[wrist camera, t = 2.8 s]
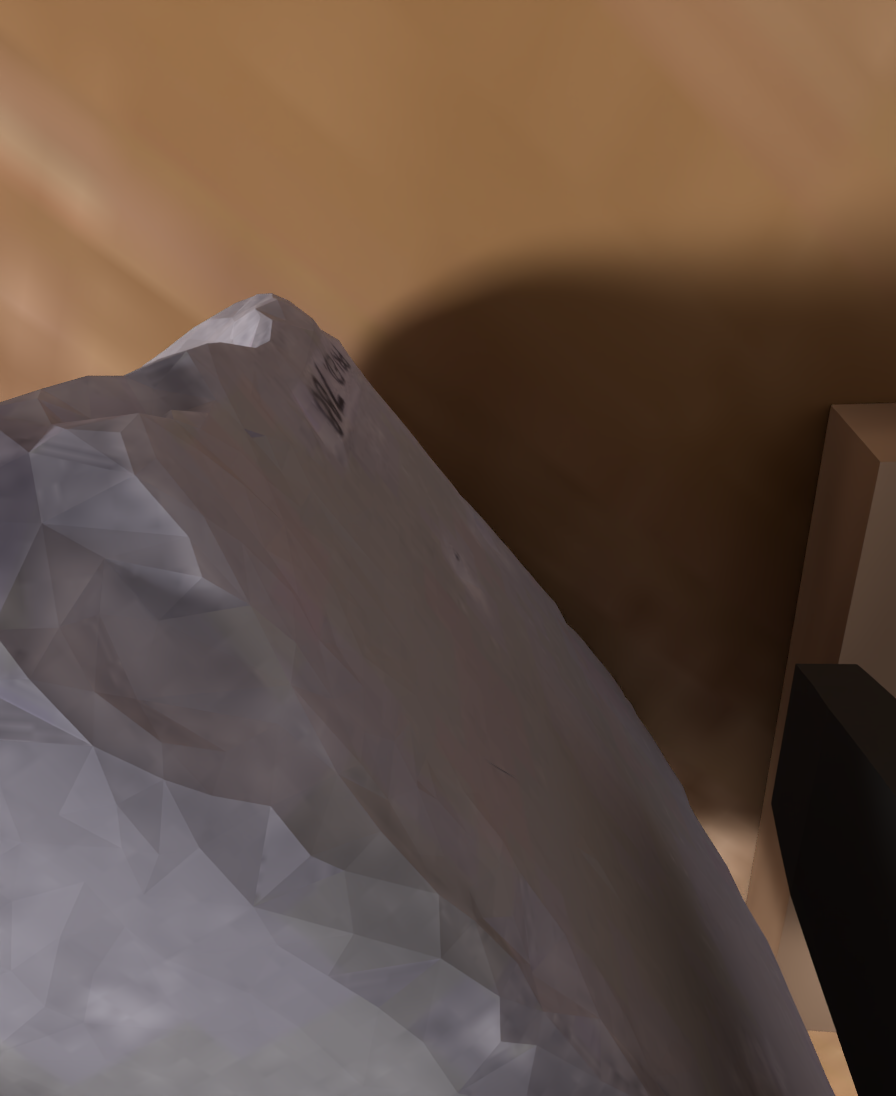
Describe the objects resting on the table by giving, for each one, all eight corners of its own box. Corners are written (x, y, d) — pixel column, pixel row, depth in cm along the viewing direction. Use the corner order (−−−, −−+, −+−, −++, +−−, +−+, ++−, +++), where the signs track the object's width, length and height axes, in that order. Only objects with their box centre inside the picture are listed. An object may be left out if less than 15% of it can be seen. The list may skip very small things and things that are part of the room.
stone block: (781, 751, 15) (1084, 1683, 6) (549, 828, 17) (538, 1639, 8) (426, 134, 10) (-188, 454, 2) (158, 326, 12) (-801, 954, 4)
